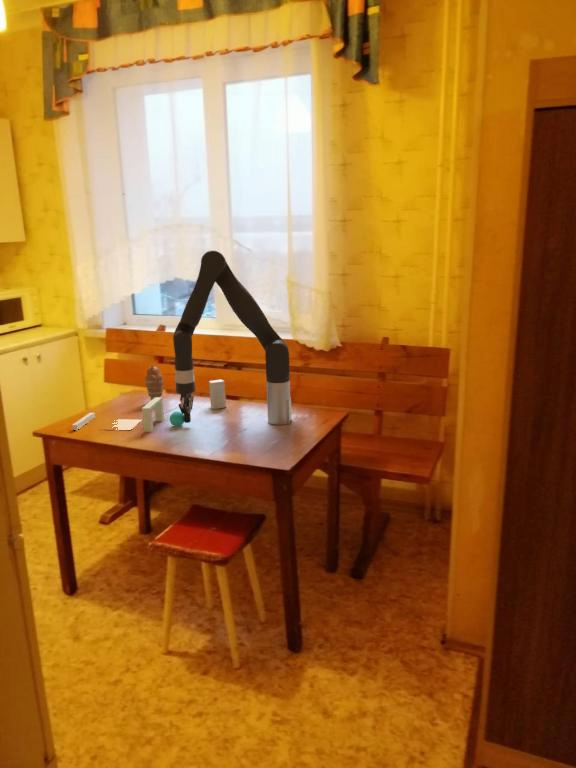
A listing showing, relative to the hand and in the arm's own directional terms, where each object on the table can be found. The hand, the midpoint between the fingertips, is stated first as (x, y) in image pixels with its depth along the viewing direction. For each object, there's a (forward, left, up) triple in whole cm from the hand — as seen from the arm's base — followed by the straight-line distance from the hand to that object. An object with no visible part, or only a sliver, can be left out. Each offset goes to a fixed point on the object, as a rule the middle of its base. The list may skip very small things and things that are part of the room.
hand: (187, 422), depth 239 cm
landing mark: (+28, 0, -2) cm, 28 cm away
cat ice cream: (+24, -30, -2) cm, 39 cm away
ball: (+4, -1, +1) cm, 5 cm away
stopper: (+44, 0, -2) cm, 44 cm away
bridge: (+14, 0, -2) cm, 14 cm away
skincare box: (-6, -26, -2) cm, 27 cm away
